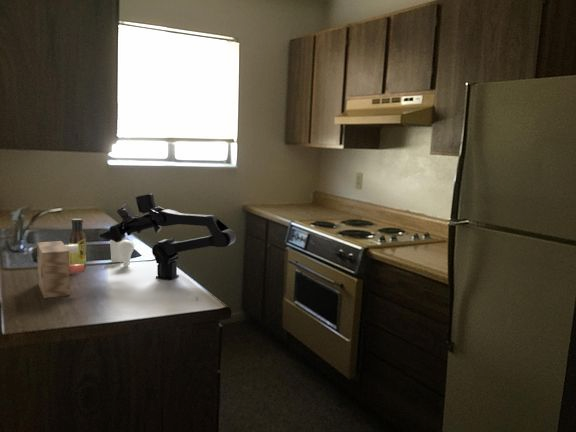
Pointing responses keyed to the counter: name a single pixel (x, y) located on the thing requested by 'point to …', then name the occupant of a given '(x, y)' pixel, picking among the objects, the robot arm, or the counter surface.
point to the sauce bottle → (77, 238)
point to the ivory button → (72, 248)
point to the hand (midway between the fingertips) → (104, 232)
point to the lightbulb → (126, 251)
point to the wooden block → (53, 269)
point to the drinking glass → (115, 251)
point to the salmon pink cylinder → (76, 268)
